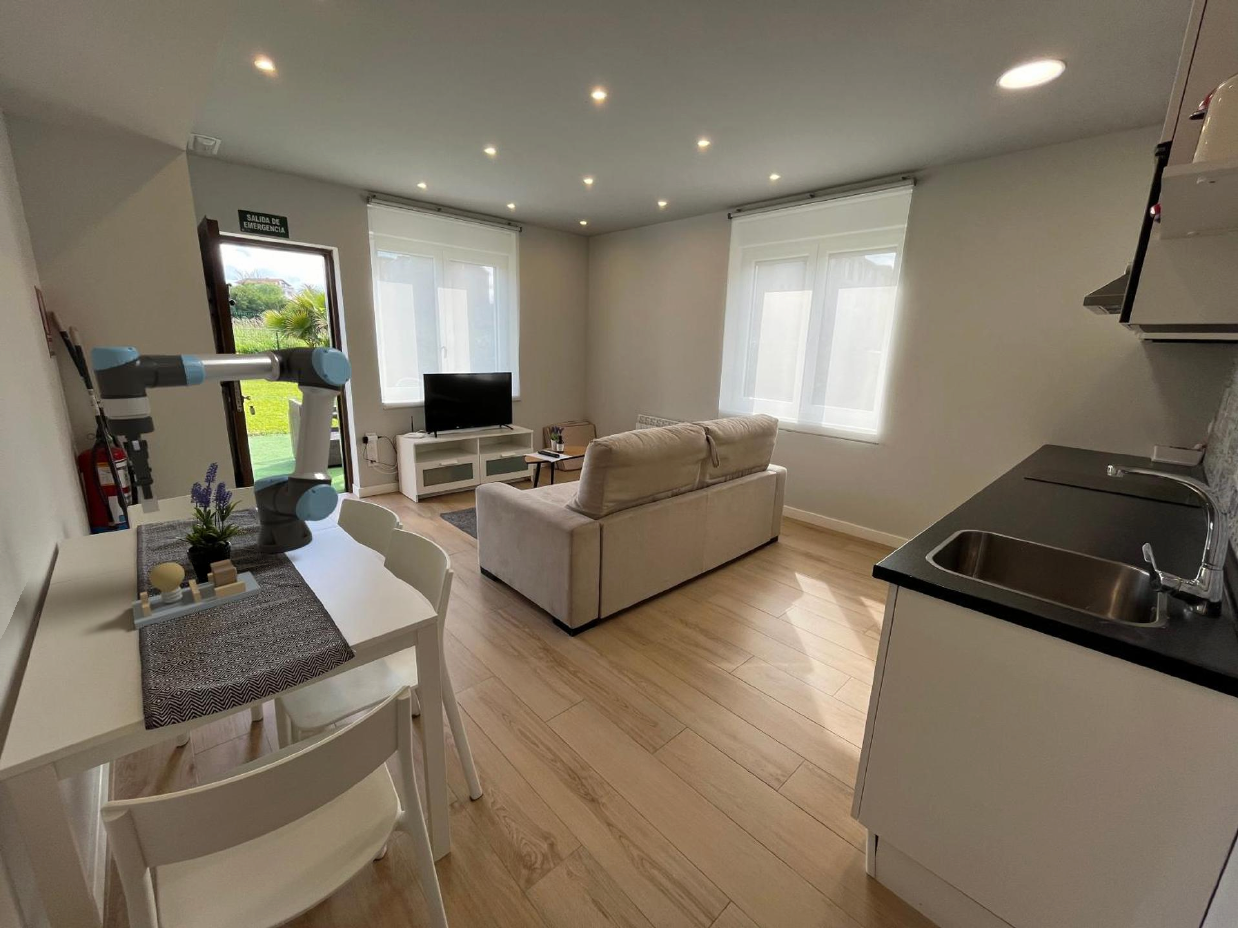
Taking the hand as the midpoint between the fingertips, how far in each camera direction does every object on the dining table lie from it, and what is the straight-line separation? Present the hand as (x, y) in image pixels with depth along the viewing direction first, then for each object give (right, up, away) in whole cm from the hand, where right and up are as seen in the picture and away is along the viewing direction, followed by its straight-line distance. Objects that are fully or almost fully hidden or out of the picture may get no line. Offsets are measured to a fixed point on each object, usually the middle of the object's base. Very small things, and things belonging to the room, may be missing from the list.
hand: (149, 505), depth 116 cm
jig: (+3, -25, +10) cm, 27 cm away
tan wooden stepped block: (+8, -23, +13) cm, 27 cm away
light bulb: (0, -25, +6) cm, 25 cm away
